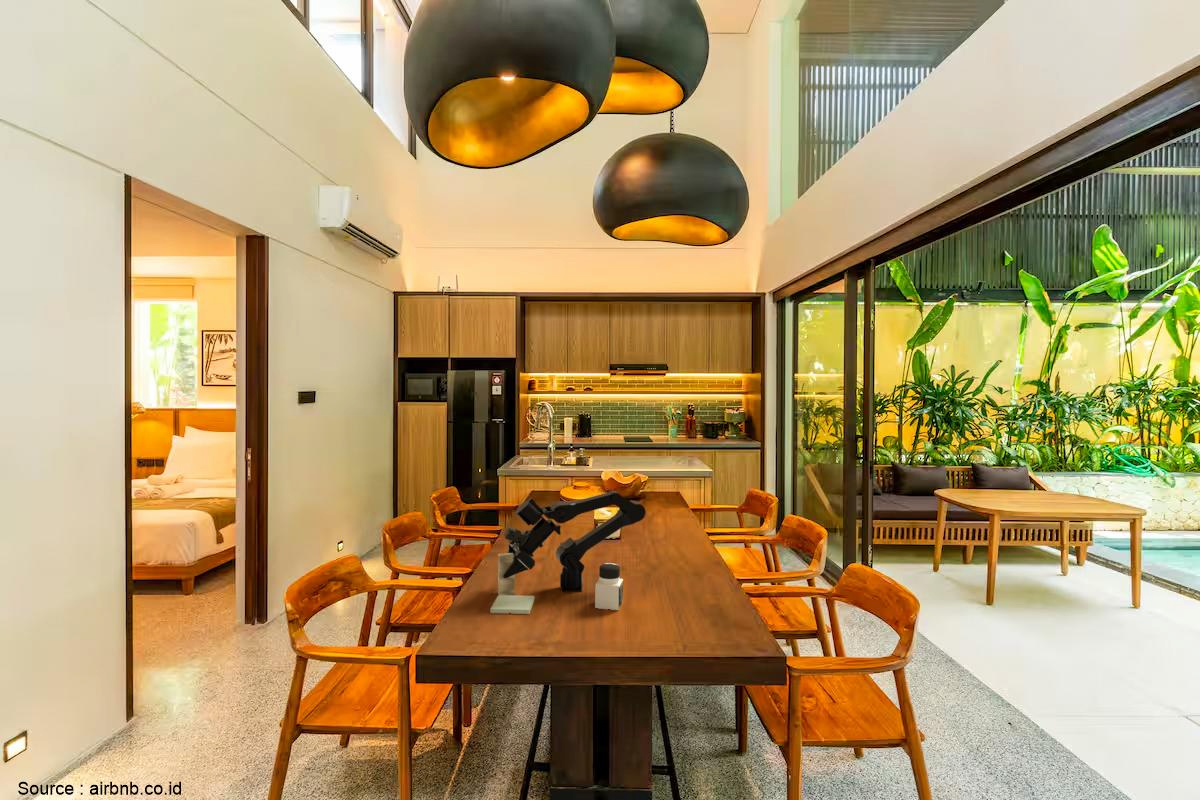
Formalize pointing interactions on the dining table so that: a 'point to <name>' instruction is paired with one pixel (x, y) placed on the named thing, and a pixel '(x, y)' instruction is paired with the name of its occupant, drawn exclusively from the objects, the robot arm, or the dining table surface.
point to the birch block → (504, 584)
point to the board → (512, 604)
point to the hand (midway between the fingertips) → (501, 572)
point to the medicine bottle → (609, 587)
